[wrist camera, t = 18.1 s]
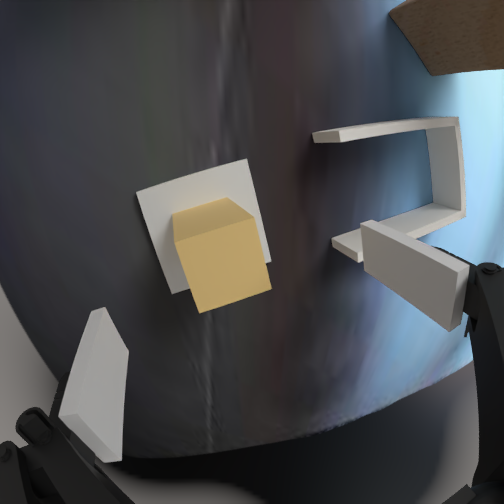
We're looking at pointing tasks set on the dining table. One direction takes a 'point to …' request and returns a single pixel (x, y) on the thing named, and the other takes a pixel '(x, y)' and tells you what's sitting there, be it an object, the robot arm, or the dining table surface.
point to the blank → (220, 253)
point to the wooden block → (454, 33)
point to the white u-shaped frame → (442, 175)
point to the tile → (191, 195)
